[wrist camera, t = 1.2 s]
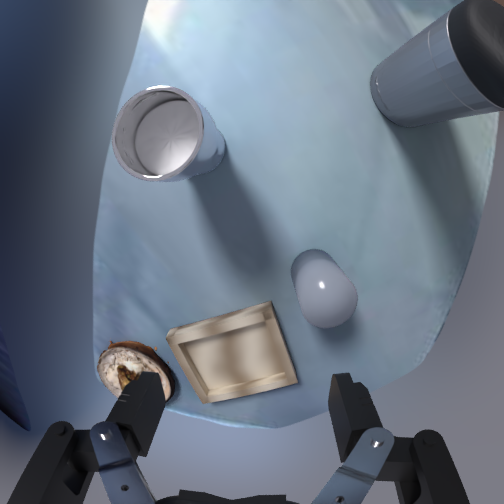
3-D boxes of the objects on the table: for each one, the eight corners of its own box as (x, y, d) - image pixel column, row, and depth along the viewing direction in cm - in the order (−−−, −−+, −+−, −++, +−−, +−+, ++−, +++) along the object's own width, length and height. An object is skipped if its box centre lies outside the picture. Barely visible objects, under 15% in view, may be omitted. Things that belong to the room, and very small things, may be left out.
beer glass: (234, 171, 33) (216, 170, 18) (175, 184, 33) (118, 195, 19) (223, 112, 31) (197, 70, 16) (164, 127, 31) (103, 101, 17)
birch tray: (271, 300, 37) (271, 309, 34) (296, 372, 39) (297, 382, 37) (170, 329, 38) (165, 338, 36) (205, 393, 41) (202, 403, 39)
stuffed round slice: (200, 398, 42) (196, 416, 38) (126, 409, 43) (119, 424, 39) (156, 321, 38) (146, 336, 34) (81, 341, 40) (68, 355, 36)
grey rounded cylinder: (329, 243, 35) (351, 266, 26) (339, 284, 36) (362, 317, 27) (285, 257, 35) (294, 285, 26) (297, 297, 36) (309, 335, 28)
